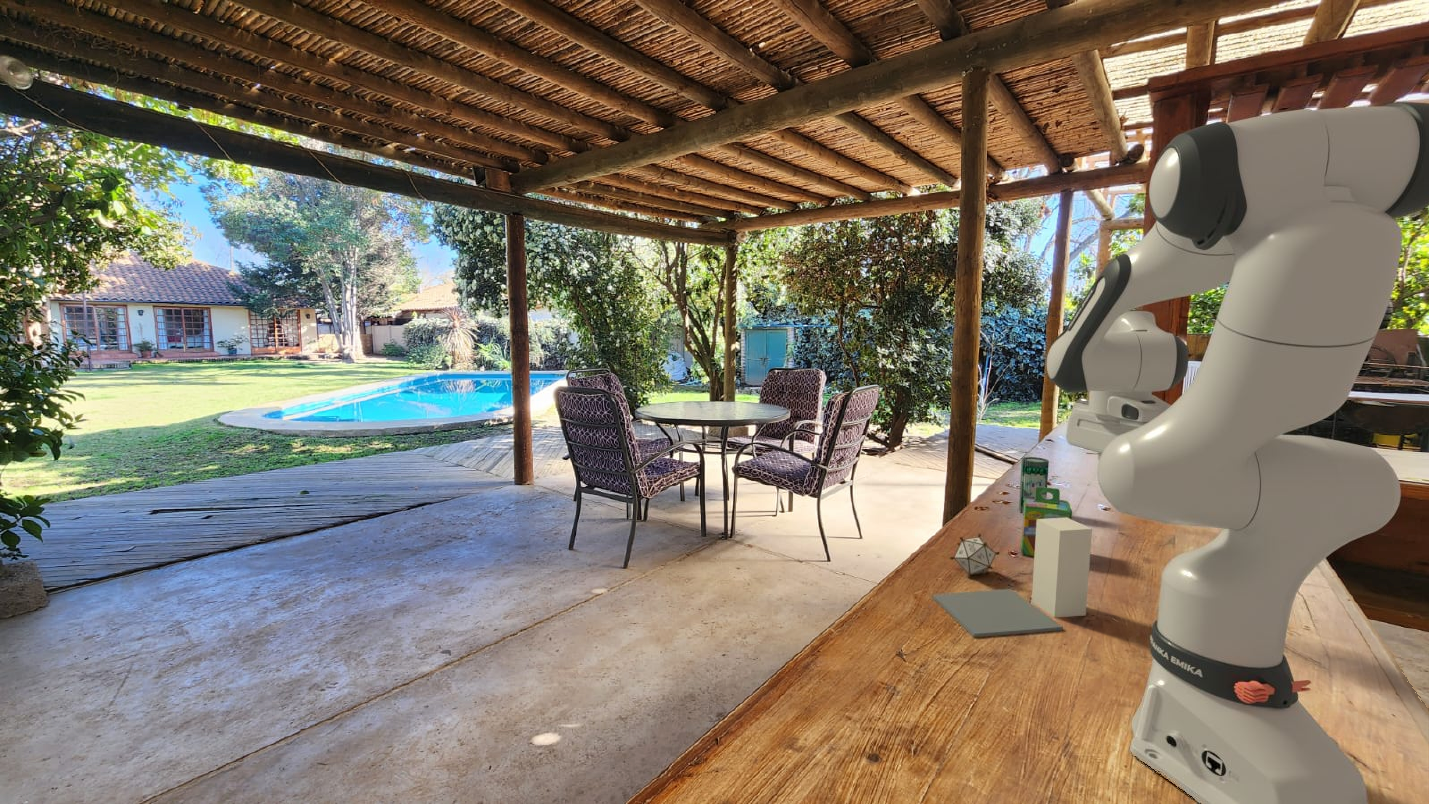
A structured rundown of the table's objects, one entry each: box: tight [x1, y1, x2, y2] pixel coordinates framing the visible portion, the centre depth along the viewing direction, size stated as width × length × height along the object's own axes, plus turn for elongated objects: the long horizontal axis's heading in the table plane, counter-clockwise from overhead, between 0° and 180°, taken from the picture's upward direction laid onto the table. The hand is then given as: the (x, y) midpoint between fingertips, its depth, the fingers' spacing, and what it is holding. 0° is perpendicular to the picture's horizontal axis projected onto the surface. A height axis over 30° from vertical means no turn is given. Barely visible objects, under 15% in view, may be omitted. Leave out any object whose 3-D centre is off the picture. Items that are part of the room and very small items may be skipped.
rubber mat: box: [931, 588, 1064, 638], centre depth 101 cm, size 14×16×1 cm
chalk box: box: [1020, 487, 1073, 557], centre depth 126 cm, size 9×9×15 cm
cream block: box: [1031, 517, 1093, 618], centre depth 101 cm, size 6×6×16 cm
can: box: [1018, 456, 1050, 514], centre depth 152 cm, size 6×6×15 cm
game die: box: [948, 533, 1001, 579], centre depth 116 cm, size 9×8×10 cm
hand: (1112, 480), depth 100 cm, fingers closed
